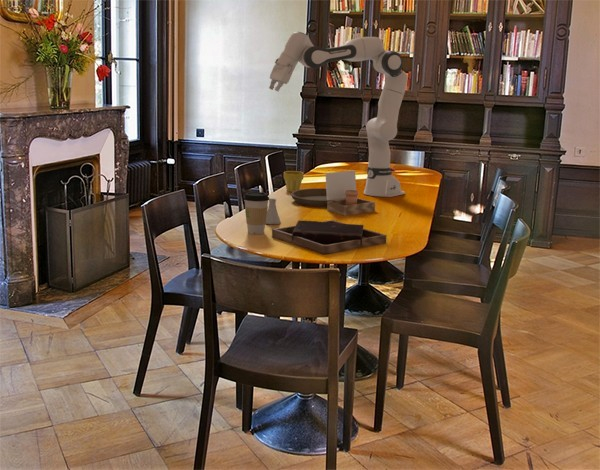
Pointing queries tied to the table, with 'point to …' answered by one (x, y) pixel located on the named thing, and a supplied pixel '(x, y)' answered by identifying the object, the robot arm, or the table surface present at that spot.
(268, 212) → the flask
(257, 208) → the coffee cup
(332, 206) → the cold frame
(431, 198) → the table surface
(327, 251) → the desk tray
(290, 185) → the plant pot
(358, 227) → the diary
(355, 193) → the pot
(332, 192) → the upright grey panel
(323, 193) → the plant saucer
